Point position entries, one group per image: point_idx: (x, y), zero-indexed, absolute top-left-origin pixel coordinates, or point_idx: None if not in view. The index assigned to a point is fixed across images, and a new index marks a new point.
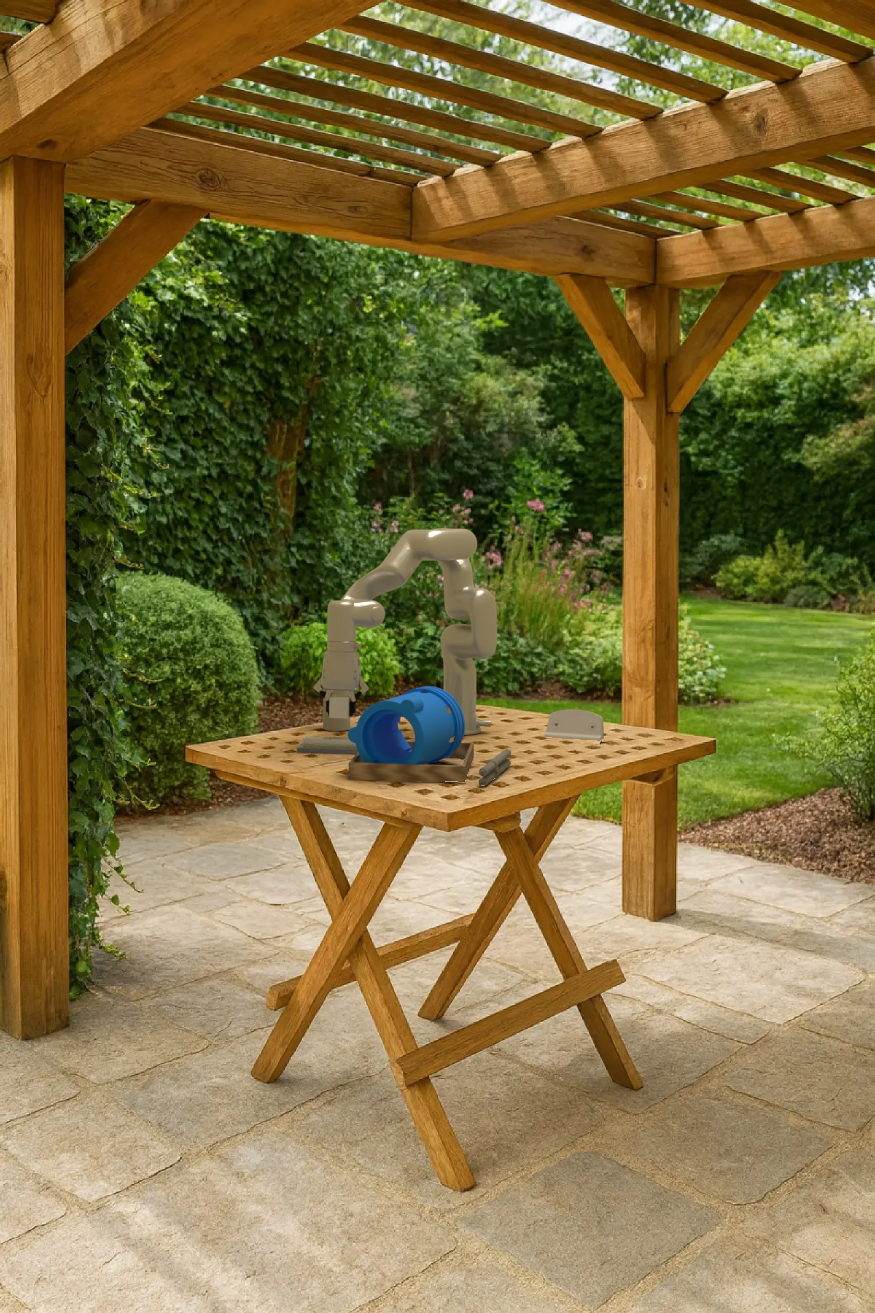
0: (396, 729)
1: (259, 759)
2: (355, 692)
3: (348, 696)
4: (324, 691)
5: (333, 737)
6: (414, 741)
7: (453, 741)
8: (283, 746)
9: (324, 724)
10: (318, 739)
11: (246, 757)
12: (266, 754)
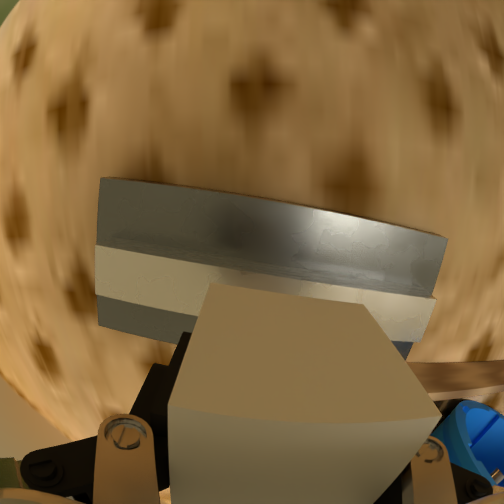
0: (457, 456)
1: (51, 390)
2: (448, 499)
3: (364, 494)
4: (71, 499)
5: (230, 278)
6: (491, 392)
7: (500, 470)
8: (46, 196)
9: None
10: (161, 307)
11: (19, 362)
12: (39, 334)
